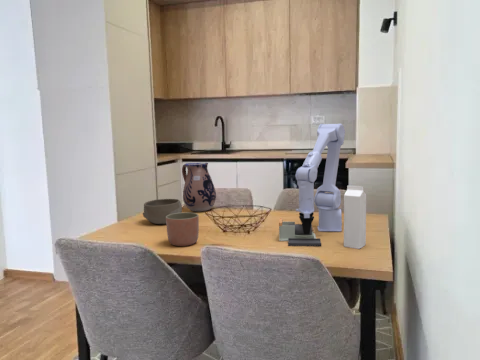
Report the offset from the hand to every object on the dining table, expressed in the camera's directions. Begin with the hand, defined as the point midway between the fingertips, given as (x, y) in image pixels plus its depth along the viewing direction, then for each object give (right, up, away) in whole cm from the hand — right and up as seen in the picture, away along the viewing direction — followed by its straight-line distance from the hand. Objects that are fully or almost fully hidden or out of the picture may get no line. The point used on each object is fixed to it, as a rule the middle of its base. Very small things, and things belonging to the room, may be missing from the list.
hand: (306, 232), depth 166 cm
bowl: (-62, 0, +35) cm, 71 cm away
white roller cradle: (-3, -2, +1) cm, 4 cm away
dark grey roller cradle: (-2, -3, -7) cm, 8 cm away
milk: (+16, -4, -12) cm, 20 cm away
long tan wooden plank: (-10, +3, 0) cm, 11 cm away
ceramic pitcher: (-49, +4, +61) cm, 79 cm away
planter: (-48, -4, -2) cm, 48 cm away
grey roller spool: (-3, +1, 0) cm, 3 cm away
